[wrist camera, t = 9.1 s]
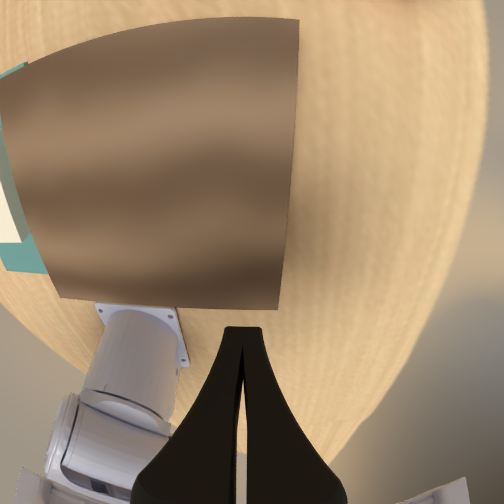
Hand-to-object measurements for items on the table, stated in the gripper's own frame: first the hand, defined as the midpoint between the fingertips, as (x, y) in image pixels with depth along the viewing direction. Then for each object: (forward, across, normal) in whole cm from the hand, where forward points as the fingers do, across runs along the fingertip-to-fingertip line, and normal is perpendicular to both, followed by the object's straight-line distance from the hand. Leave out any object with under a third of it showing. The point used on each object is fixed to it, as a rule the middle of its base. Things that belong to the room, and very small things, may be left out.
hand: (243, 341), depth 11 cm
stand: (+9, +6, -4) cm, 12 cm away
